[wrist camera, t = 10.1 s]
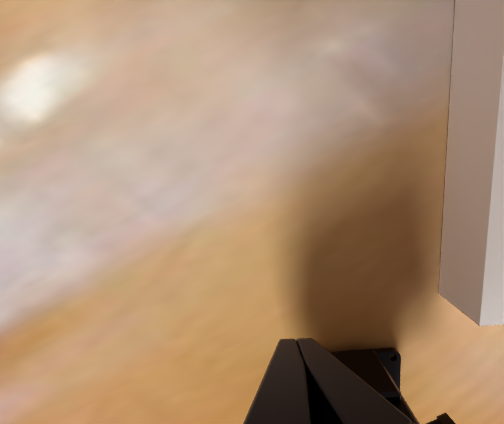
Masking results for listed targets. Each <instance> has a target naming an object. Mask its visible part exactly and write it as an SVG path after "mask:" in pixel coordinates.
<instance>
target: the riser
mask: <svg viewBox="0 0 504 424" xmlns="http://www.w3.org/2000/svg"><path fill="white" fill-rule="evenodd" d="M439 294H440V295H441V296H442V297H444V298H445V299H446V300H447V301H449V302H450V303H451V304H452V305H454V306H455V307H456V308H457V309H459V310H460V311H461V312H462V313H464V314H465V315H466V316H468V317H469V318H470V319H471V320H473V321H474V322H475V323H476V324H478V325H479V326H487V325H500V324H504V0H455V13H454V30H453V48H452V66H451V83H450V101H449V118H448V136H447V154H446V171H445V189H444V207H443V224H442V242H441V260H440V277H439Z"/></svg>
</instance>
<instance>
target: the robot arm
mask: <svg viewBox="0 0 504 424" xmlns="http://www.w3.org/2000/svg"><path fill="white" fill-rule="evenodd" d="M391 355H394V356H393V357H390V356H391ZM400 365H401V356H400V354H399V353H398V351H397V350H396V349H394V348H384V349H365V350H353V351H340V352H332V353H329V352H328V351H327V350H326V349H324V348H323V347H322V346H321V345H320V344H318V343H317V342H316V341H315V340H314V339H312V338H299V339H297V340H295V339H281V340H279V342H278V345H277V347H276V349H275V352H274V354H273V356H272V358H271V361H270V363H269V365H268V368H267V370H266V372H265V375H264V377H263V379H262V382H261V384H260V386H259V389H258V391H257V393H256V396H255V398H254V400H253V403H252V405H251V407H250V409H249V412H248V414H247V416H246V419H245V421H244V423H243V424H419V422H418V421H417V419H416V417H415V416H414V414H413V412H412V411H411V409H410V408H409V406H408V404H407V403H406V401H405V400H404V398H403V396H402V395H401V392H400ZM427 424H455V423H454V421H453V420H452V419H451V418H450V417H449V416H448V415H447V414H446V413H444V414H441V415H439V416H437V419H436V420H433V421H431V422H429V423H427Z"/></svg>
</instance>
